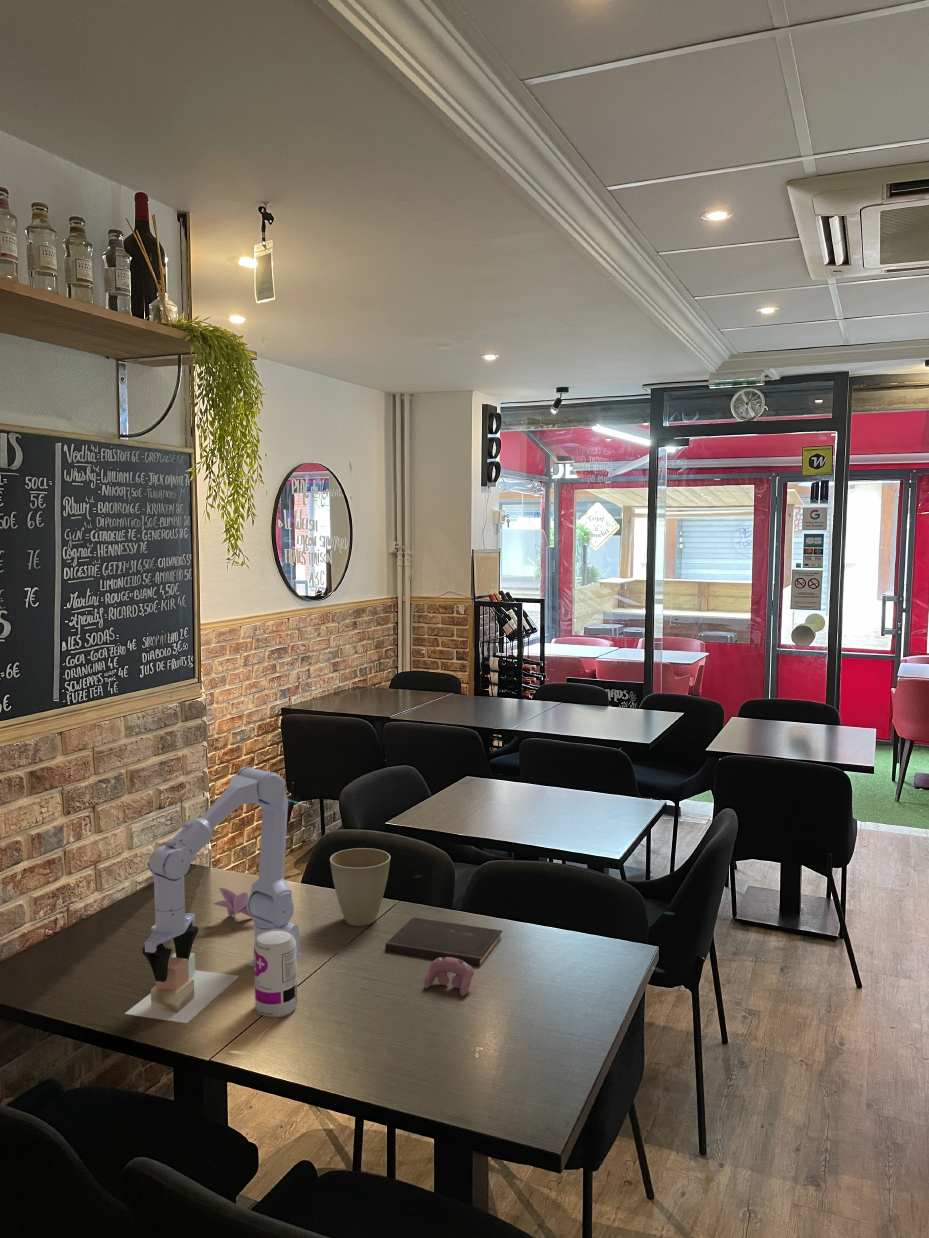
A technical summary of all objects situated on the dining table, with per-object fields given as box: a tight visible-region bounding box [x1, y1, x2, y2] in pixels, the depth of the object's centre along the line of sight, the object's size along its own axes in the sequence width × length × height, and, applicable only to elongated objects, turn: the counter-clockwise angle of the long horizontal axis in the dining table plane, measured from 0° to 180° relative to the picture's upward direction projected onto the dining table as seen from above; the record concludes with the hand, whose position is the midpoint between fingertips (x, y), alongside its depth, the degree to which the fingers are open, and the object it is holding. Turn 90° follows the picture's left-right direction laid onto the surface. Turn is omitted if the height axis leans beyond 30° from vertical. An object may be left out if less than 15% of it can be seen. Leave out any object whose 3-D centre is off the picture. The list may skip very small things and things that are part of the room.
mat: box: [124, 969, 240, 1024], centre depth 185 cm, size 14×20×1 cm
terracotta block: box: [155, 956, 189, 991], centre depth 181 cm, size 4×4×4 cm
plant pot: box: [329, 847, 391, 927], centre depth 223 cm, size 15×15×16 cm
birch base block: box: [150, 979, 194, 1013], centre depth 181 cm, size 6×6×4 cm
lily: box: [212, 887, 253, 931], centre depth 221 cm, size 12×12×10 cm
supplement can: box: [253, 929, 298, 1019], centre depth 179 cm, size 8×8×15 cm
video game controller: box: [423, 957, 474, 997], centre depth 189 cm, size 10×5×7 cm, turn 66°
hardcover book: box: [384, 917, 503, 968], centre depth 209 cm, size 16×23×2 cm
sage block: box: [171, 952, 196, 979], centre depth 192 cm, size 4×4×4 cm
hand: (172, 971), depth 181 cm, fingers open, 7 cm apart
